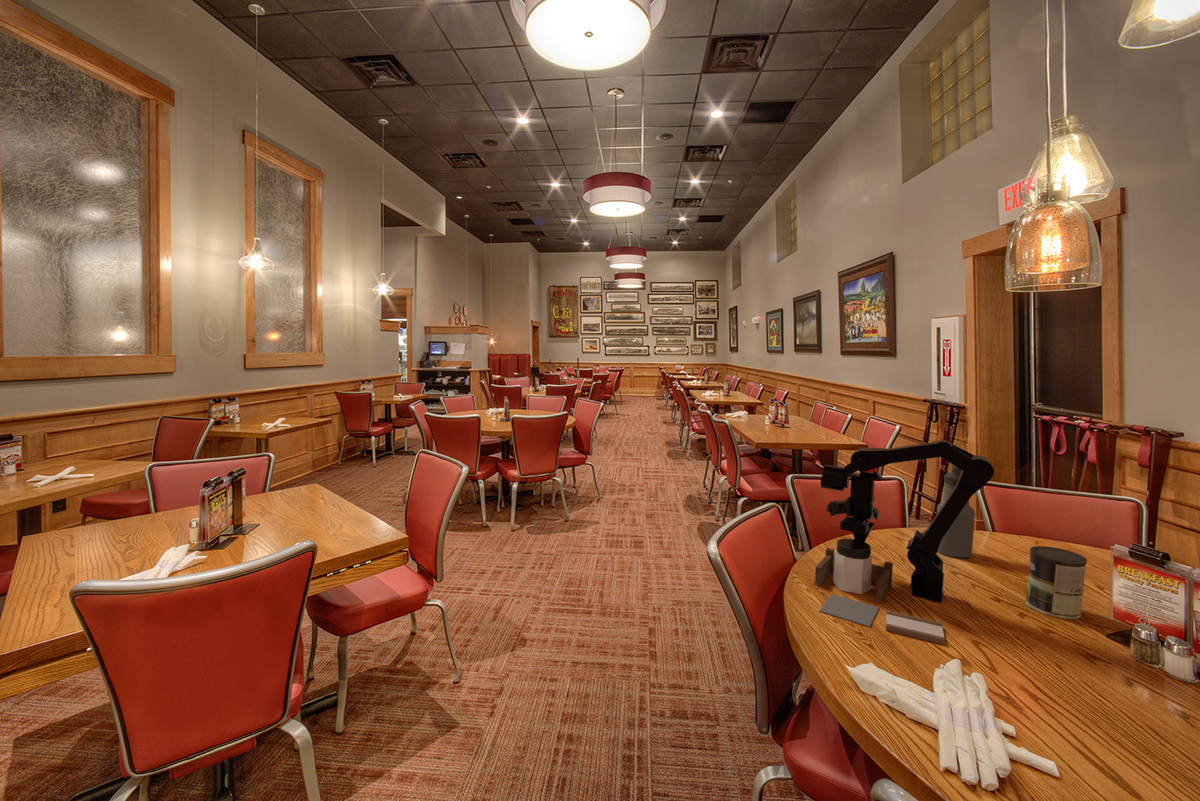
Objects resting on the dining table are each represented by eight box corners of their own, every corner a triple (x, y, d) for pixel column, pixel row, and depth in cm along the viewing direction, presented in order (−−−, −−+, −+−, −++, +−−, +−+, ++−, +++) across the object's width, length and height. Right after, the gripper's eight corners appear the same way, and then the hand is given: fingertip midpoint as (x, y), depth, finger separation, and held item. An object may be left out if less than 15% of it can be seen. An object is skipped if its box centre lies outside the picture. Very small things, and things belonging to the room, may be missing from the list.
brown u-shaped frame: (891, 585, 135) (892, 562, 134) (882, 603, 125) (884, 579, 124) (826, 569, 145) (827, 547, 145) (813, 584, 135) (814, 561, 135)
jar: (857, 597, 128) (859, 552, 127) (827, 585, 135) (829, 542, 134) (875, 588, 133) (878, 545, 132) (846, 577, 140) (848, 536, 139)
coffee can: (1023, 608, 123) (1027, 553, 122) (1027, 594, 130) (1032, 542, 129) (1081, 624, 116) (1086, 566, 114) (1082, 609, 123) (1087, 554, 122)
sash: (941, 627, 114) (942, 622, 114) (944, 645, 107) (945, 639, 107) (886, 614, 119) (886, 610, 119) (885, 630, 113) (886, 625, 112)
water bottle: (934, 544, 165) (940, 461, 163) (971, 551, 160) (977, 465, 157) (933, 554, 157) (939, 467, 155) (972, 561, 151) (978, 471, 149)
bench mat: (878, 608, 122) (878, 607, 122) (869, 627, 114) (869, 625, 114) (831, 595, 129) (831, 594, 129) (819, 611, 121) (819, 610, 121)
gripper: (839, 482, 150) (836, 533, 151) (821, 495, 136) (818, 551, 137) (881, 489, 143) (878, 541, 144) (866, 503, 128) (863, 561, 130)
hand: (858, 548), depth 139 cm, fingers closed
